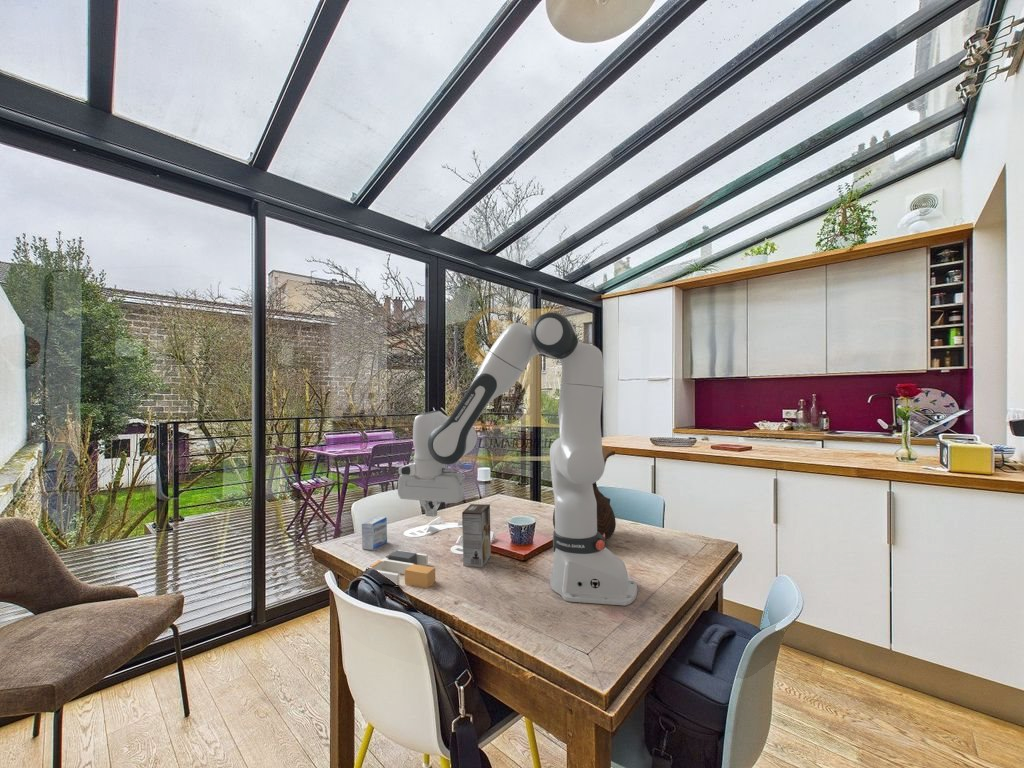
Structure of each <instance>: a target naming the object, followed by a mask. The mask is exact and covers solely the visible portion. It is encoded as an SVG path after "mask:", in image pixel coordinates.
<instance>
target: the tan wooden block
mask: <svg viewBox="0 0 1024 768" xmlns="http://www.w3.org/2000/svg"><path fill="white" fill-rule="evenodd" d="M435 582H436V567H434V566H428V565H426V566H423V565H416V564H413V565H411V566H410V567H408V568H407V569H405V574H404V584H405V585H407V586H413V587H419V588H425V589H429V587H431V586H432V585H433V584H435Z"/></svg>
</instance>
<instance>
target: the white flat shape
mask: <svg viewBox="0 0 1024 768" xmlns="http://www.w3.org/2000/svg"><path fill="white" fill-rule="evenodd" d="M441 522H442V523H441ZM443 522H444V523H443ZM458 528H463V526H462V519H461V520H459V521H458V522H445V520H444V519H443V517H441V516H438V517H436V518H434V519H433V520H432V521H430V522H429V523H427V524H426V525H419V526H416V527H412V528H409V529H407V530H405V531H404V532H403V536H405V537H408V538H422V537H425V536H426V535H429V534H434V533H437V532H440V531H444V530H449V529H458ZM421 532H422V533H421ZM490 537H491V538H490V540H492V539H493V538H494V539H495V531H492V530H490ZM494 539H493V540H494ZM459 543H460V544H459ZM455 544H458V545H453V546H452V547H450V552H451V553H453V554H454V555H459V556H460V555H461V556H463V535H459V536H458V538H457V540H456V541H455ZM460 550H461V551H460Z"/></svg>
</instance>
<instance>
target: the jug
mask: <svg viewBox="0 0 1024 768" xmlns="http://www.w3.org/2000/svg"><path fill="white" fill-rule="evenodd" d="M602 454H603V458H604V462H605V465H606V463H607V461H608V459H609V458H610V457H611V456H615V455H616V451H615V450H614V449H610V448H605V447H602ZM592 485H593V490H594V495H595V498H596V502H597V531H598V532H599V533H600V534H601V535H603V534H605V542H606V541H608V540H610V538H612V536H613V535H614V533H615V531H616V528H617V527H616V526H617V523H616V522H617V521H616V514H615V511H614V509H613V508H612V506H611V498H610V497H609V498H608V497H606V496H605V495H604V494H603V493H602V492H600V490H599V487H598V484H597V482H595V483H593V484H592ZM552 524H553V525H552V526H553V529H554V530H555V507H554V508H553V514H552Z"/></svg>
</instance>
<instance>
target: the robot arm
mask: <svg viewBox="0 0 1024 768" xmlns="http://www.w3.org/2000/svg"><path fill="white" fill-rule="evenodd" d="M575 329H576V328H575V327H574V325H573V324H572V322H571V321H570V320H569V319H568V318H567V317H565V316H564V315H562V314H561V313H558V312H546V313H544V314H541V315H540V316H538V317H537V318H536V319H535V320H534V322H533V324H532V326H531V327H529V326H528V325H526V324H523V323H521V322H513V323H511V324H510V323H509V325H508V326H506V328H505V329H504V330H503V331H502V332H501V333H500V335H499V336H498V338H497V339H496V340H495V341H494V343H493V344H492V346H491V348H490V349H489V350H488V351H487V353H486V356H485V357H484V359H483V361H482V363H481V365H480V366H479V368H478V371H477V373H476V375H475V376H474V379H473V380H472V382H471V384H470V386H469V388H468V389H467V391H466V392H465V394H464V395H463V397H462V398H461V400H460V401H459V403H458V404H457V405H456V407H455V409H454V410H453V412H452V413H451V414H450V416H447V415H445V414H444V413H443V412H442V411H441V410H432V411H431V410H430V411H427V412H422V413H419V414H417V415H416V416H415V418H414V420H413V425H412V426H413V427H412V444H413V448H414V455H413V462H410V463H408V464H405V465H403V466H400V467H398V473H399V477H398V480H397V496H398V497H399V499H400V500H409V501H410V500H412V501H421V505H422V508H423V509H424V513H425V516H426V517H433V518H435V517H437V516H438V509H439V507H440V506H441V503H450V504H459V503H460V502H462V501H463V500H464V499H465V489H464V483H463V477H464V476H463V473H462V472H461V471H460V470H458V468H446V465H453V464H455V463H457V462H458V461H459V460H460V459H462V458H463V457H464V456H466V455H468V454H469V453H470V452H472V450H474V449H475V448H476V445H477V443H478V433H477V430H476V429H475V428H474V425H475V424H476V422H478V421H477V420H478V419H479V418H480V416H481V415H482V413H483V411H484V410H485V409H486V408H487V406H489V404H490V403H492V401H494V400H495V399H496V398H498V397H499V396H502V395H503V394H504V393H507V392H508V391H509V390H510V389H511V388H512V387H513V386H515V383H516V382H517V381H518V380H519V379H520V377H521V376H522V374H523V372H524V371H525V370H526V367H527V366H528V364H529V363H530V361H531V360H532V359H533V358H534V357H535V356H541V357H545V358H549V359H553V360H559V362H560V363H561V381H560V390H559V399H558V400H559V401H558V411H557V413H558V423H559V425H558V426H559V437H558V438H556V439H554V441H553V442H552V444H551V445H550V448H549V462H550V473H551V484H552V485H551V486H552V491H553V492H552V493H553V501H554V508H555V529H554V530H553V535H552V548H553V552H554V553H553V554H554V555H553V556H554V557H553V565H552V566H553V567H552V570H551V571H552V572H551V576H550V580H549V587H550V588H551V589H552V591H554V592H555V593H557V594H559V595H560V597H561V598H562V599H563V600H564V601H566V602H568V603H569V602H573V603H583V604H584V603H586V604H597V605H598V604H599V605H600V604H601V605H612V606H628V605H630V604H632V603H633V602H634V601H635V600H636V599H637V596H638V595H637V594H638V585H637V582H636V580H635V579H633V578H631V577H629V574H628V569H627V567H626V565H625V562H624V561H623V560H622V559H621V558H619V557H618V556H617V555H615V554H614V553H613V552H612V551H611V550H610V549H608V548H607V547H606V541H605V534H603V535H601V534H600V533H599V532H598V531H597V502H596V498H595V495H594V490H593V485H592V484H593V483H595V482H596V483H597V482H598V481H599V480H601V478H602V477H603V474H604V472H605V469H606V464H605V462H604V458H603V454H602V448H603V438H602V436H603V435H602V427H601V426H602V425H601V415H602V413H601V412H602V402H603V391H604V390H603V389H604V388H603V387H604V377H605V376H604V374H605V373H604V357H603V353H602V351H601V350H600V349H599V347H597V346H596V345H593V344H590V343H585V342H580V341H579V339H578V334H577V332H576V330H575ZM430 502H432V505H433V507H432V508H431V506H430V504H429V503H430Z"/></svg>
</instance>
